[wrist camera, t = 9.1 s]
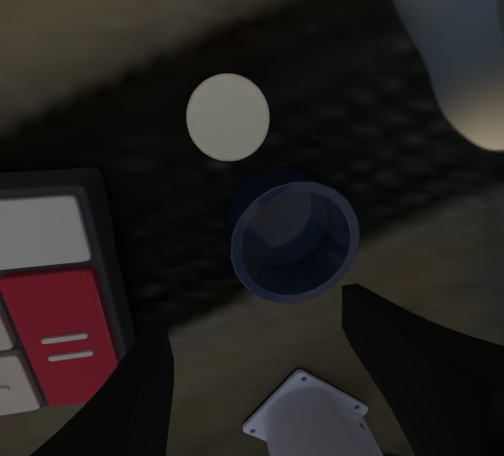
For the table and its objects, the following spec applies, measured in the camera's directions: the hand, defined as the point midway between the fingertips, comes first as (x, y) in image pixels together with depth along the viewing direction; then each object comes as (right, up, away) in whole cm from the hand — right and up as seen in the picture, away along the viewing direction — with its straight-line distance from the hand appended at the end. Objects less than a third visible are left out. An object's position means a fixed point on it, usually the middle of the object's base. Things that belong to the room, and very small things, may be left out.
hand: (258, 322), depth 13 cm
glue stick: (-3, +11, +6) cm, 13 cm away
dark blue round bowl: (+2, +4, +10) cm, 11 cm away
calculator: (-14, 0, +9) cm, 17 cm away
